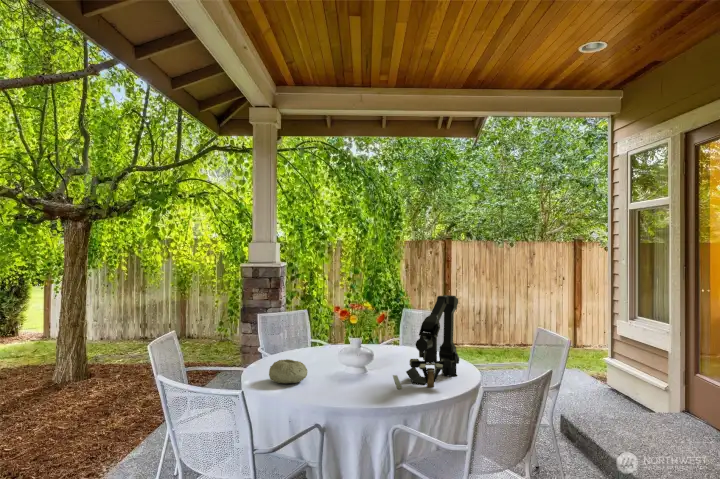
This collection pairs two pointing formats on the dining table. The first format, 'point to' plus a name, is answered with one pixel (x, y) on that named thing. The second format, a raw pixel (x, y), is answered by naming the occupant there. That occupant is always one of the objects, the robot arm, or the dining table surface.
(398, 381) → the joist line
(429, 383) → the tapered tan cylinder
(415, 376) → the handheld gaming console
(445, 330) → the robot arm
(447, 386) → the dining table surface
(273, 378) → the olive green stone
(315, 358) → the dining table surface
